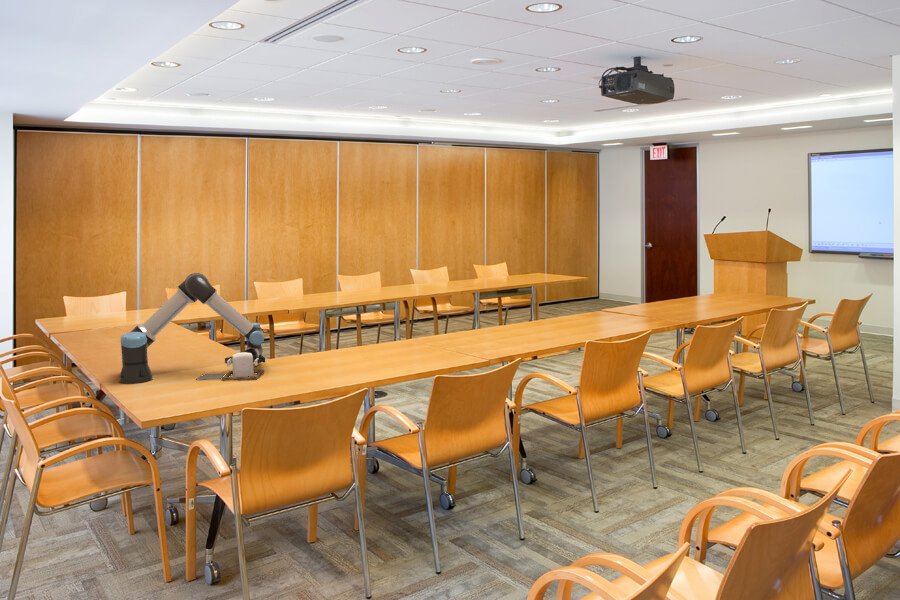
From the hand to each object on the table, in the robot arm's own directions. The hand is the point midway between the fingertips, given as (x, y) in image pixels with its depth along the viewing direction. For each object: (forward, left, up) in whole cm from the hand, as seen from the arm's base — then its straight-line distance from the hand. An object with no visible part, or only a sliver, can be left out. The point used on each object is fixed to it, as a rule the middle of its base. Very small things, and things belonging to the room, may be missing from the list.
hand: (241, 363), depth 366 cm
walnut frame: (0, +3, -7) cm, 8 cm away
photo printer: (0, +3, -8) cm, 8 cm away
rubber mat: (-16, +3, -7) cm, 18 cm away
